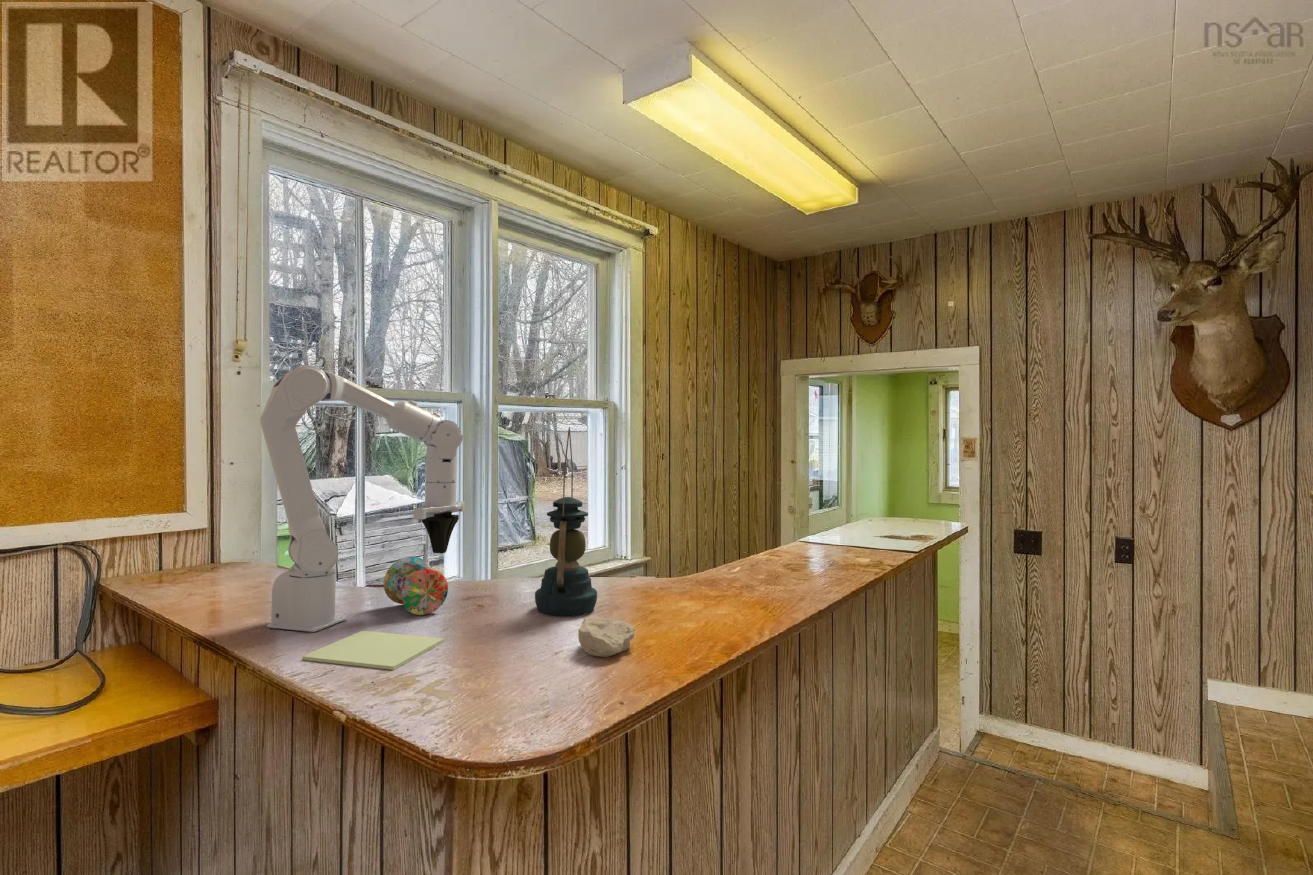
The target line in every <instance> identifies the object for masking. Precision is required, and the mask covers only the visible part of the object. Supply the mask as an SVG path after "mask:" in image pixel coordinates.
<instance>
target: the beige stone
mask: <svg viewBox="0 0 1313 875" xmlns="http://www.w3.org/2000/svg"><path fill="white" fill-rule="evenodd" d="M577 631H578V643H579V644H580V647H581V648H582V649H583V651H585V652H586V653H587V654H589V655H590V656H594V657H600V658H601V657H602V658H607V657H610V656H614V655H616V654H618V653H622V652H625V651H626V650H627V649H629V648H630V647H631V640H633V639H634V638H635V632H634V631H635V626H633V625H632V624H630V623H628V622H625V621H623V619H622V620H620V619H617V618H615V619H614V618H611V617H608V616H602V615H590V616H587V617H585V618H584V619H583V621H582V623H581V625H580V628H578V630H577Z"/></svg>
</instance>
